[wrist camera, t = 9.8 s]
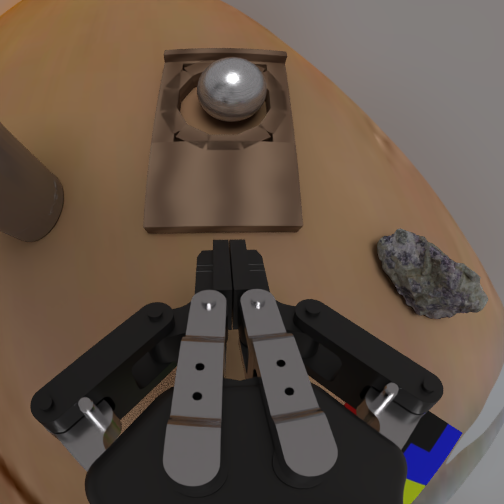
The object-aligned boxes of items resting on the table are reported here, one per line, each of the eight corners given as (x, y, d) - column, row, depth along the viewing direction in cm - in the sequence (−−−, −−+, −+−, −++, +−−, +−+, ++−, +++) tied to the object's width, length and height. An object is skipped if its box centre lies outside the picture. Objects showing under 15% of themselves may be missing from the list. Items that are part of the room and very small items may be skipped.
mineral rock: (365, 244, 34) (413, 220, 24) (424, 216, 35) (473, 191, 26) (402, 342, 32) (457, 349, 22) (456, 303, 34) (510, 298, 24)
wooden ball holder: (148, 233, 31) (139, 223, 27) (167, 69, 35) (164, 50, 31) (296, 231, 33) (307, 221, 29) (280, 70, 37) (286, 51, 33)
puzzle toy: (412, 411, 30) (462, 432, 21) (367, 473, 28) (405, 509, 18) (362, 378, 31) (411, 399, 21) (310, 447, 28) (342, 489, 19)
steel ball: (209, 38, 27) (211, 79, 35) (183, 87, 26) (190, 125, 34) (278, 53, 28) (268, 92, 36) (260, 104, 27) (253, 141, 35)
